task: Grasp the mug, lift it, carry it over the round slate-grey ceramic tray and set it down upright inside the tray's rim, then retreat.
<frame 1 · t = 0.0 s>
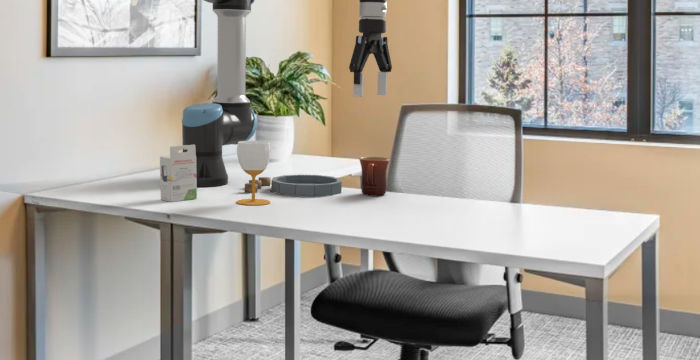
hand: (370, 95, 247), 28 cm above the table, fingers open, 13 cm apart
bead a: (264, 185, 263), on the table
bead c: (251, 192, 251), on the table
bead b: (255, 188, 257), on the table
cup: (253, 203, 234), on the table
ink box: (178, 200, 236), on the table
mug: (372, 196, 250), on the table
tray: (306, 190, 255), on the table
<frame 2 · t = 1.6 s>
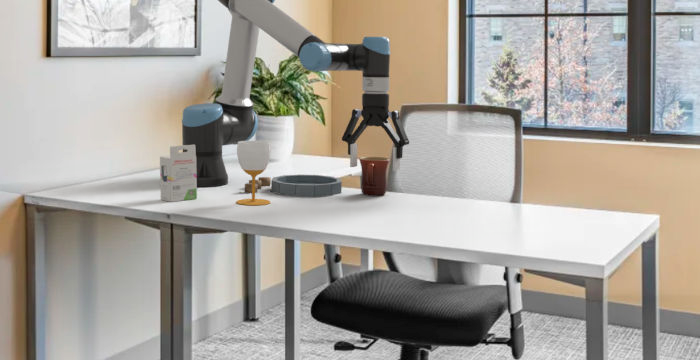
hand: (374, 168, 249), 8 cm above the table, fingers open, 13 cm apart
nothing on the table moved.
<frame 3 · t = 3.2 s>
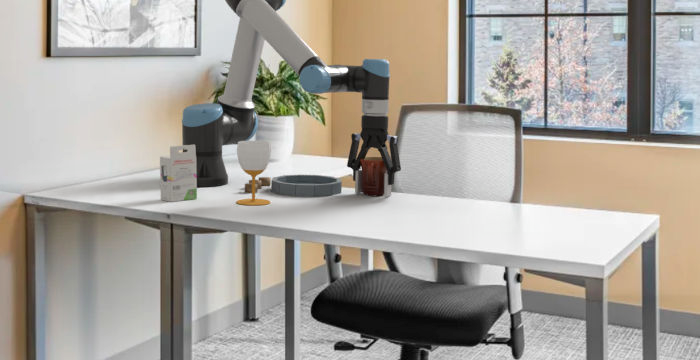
hand: (372, 194, 250), 0 cm above the table, fingers open, 9 cm apart
mug: (372, 195, 250), on the table, touching gripper
everything else where it was.
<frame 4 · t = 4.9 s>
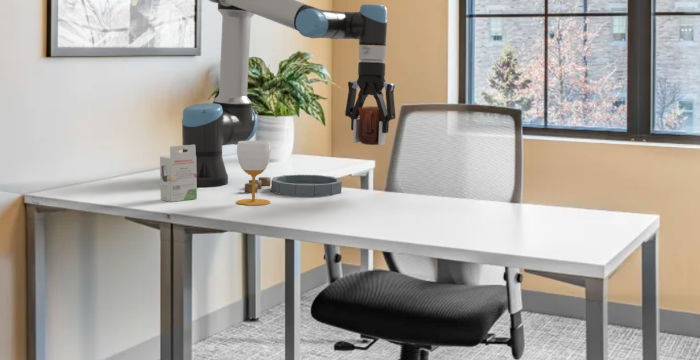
hand: (369, 143, 249), 15 cm above the table, fingers closed on mug, 7 cm apart
mug: (370, 145, 248), point 14 cm above the table, touching gripper
everything else where it was.
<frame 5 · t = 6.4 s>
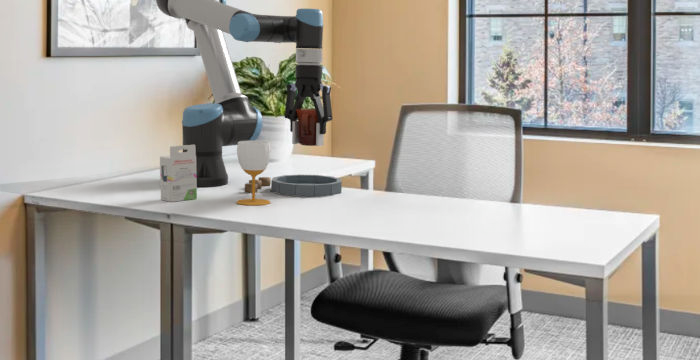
hand: (307, 144, 253), 13 cm above the table, fingers closed on mug, 7 cm apart
mug: (309, 146, 253), point 13 cm above the table, touching gripper
everything else where it was.
when the fingers open (3 cm above the table, at t = 8.9 s): mug drops 2 cm, resting on tray.
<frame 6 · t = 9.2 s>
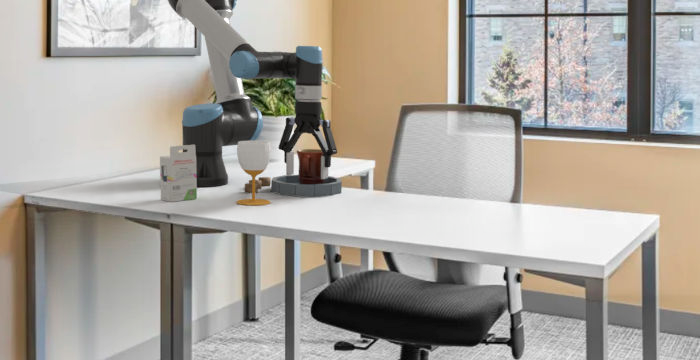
hand: (307, 176, 255), 4 cm above the table, fingers open, 11 cm apart
mug: (309, 187, 255), point 1 cm above the table, touching tray
everything else where it was.
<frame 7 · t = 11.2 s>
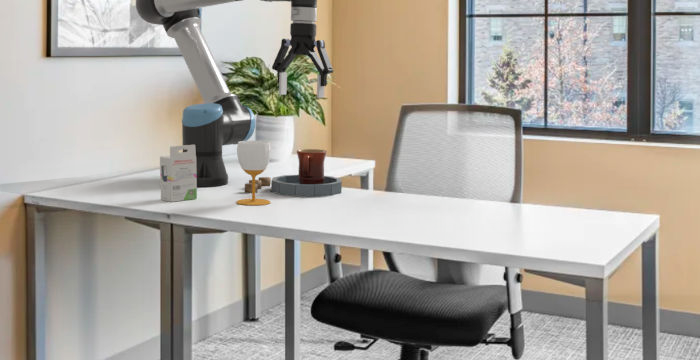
hand: (301, 96, 259), 27 cm above the table, fingers open, 13 cm apart
nothing on the table moved.
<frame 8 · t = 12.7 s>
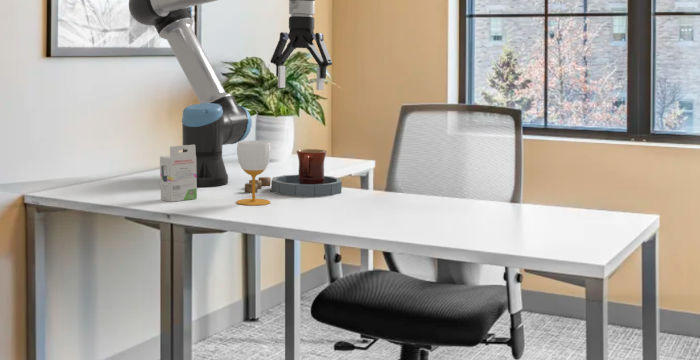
hand: (300, 88, 262), 29 cm above the table, fingers open, 13 cm apart
nothing on the table moved.
at the end: mug inside the target area on the tray (1.0 cm from its centre), point 1.0 cm above the tray's base; mug tilted 0°; the gripper is holding nothing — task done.
